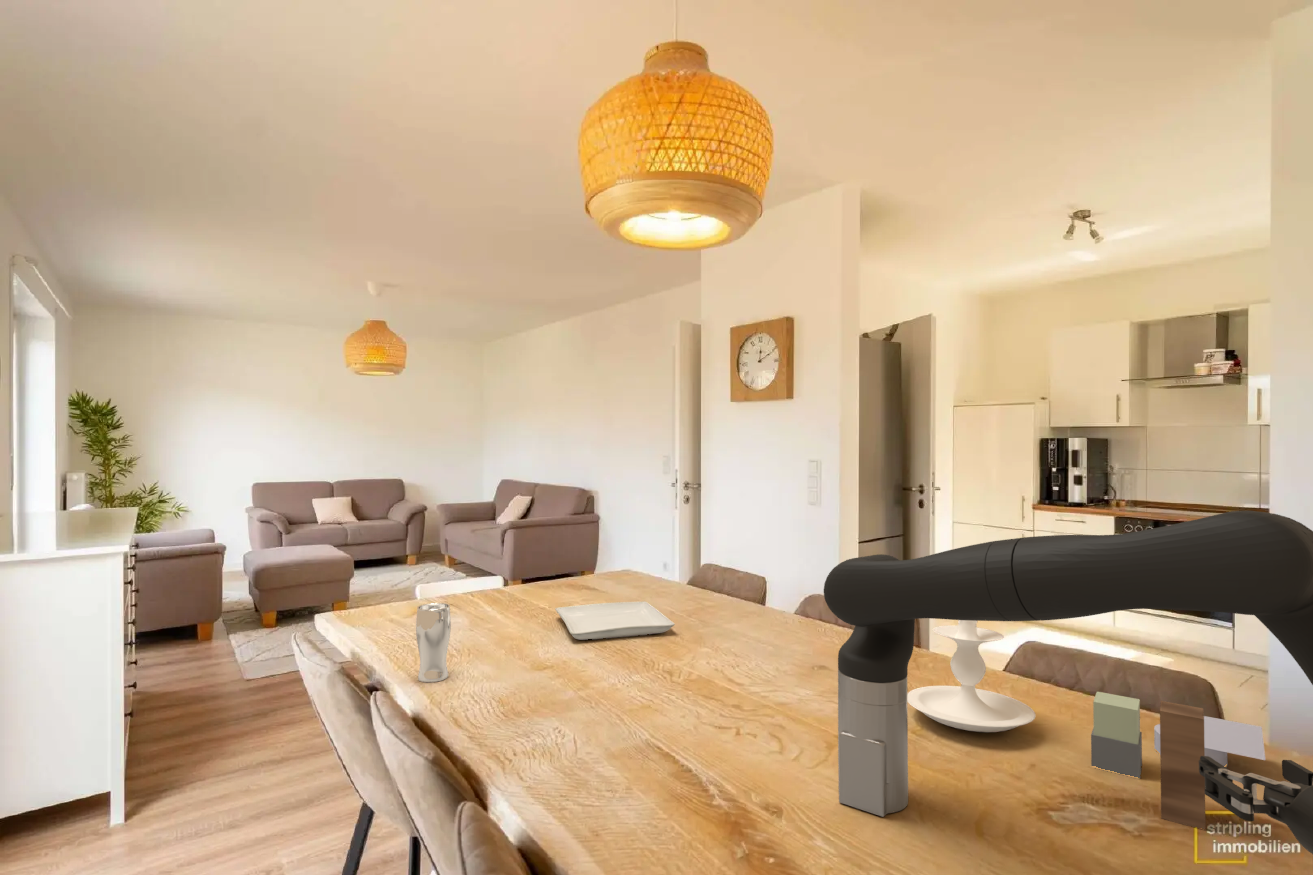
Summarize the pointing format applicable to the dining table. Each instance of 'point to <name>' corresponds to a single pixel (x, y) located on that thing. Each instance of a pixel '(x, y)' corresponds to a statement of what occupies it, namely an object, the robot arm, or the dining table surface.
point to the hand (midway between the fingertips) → (1243, 765)
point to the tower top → (1116, 717)
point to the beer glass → (433, 640)
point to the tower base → (1116, 755)
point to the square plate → (613, 620)
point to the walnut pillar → (1182, 764)
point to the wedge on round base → (1227, 739)
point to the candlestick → (969, 688)
